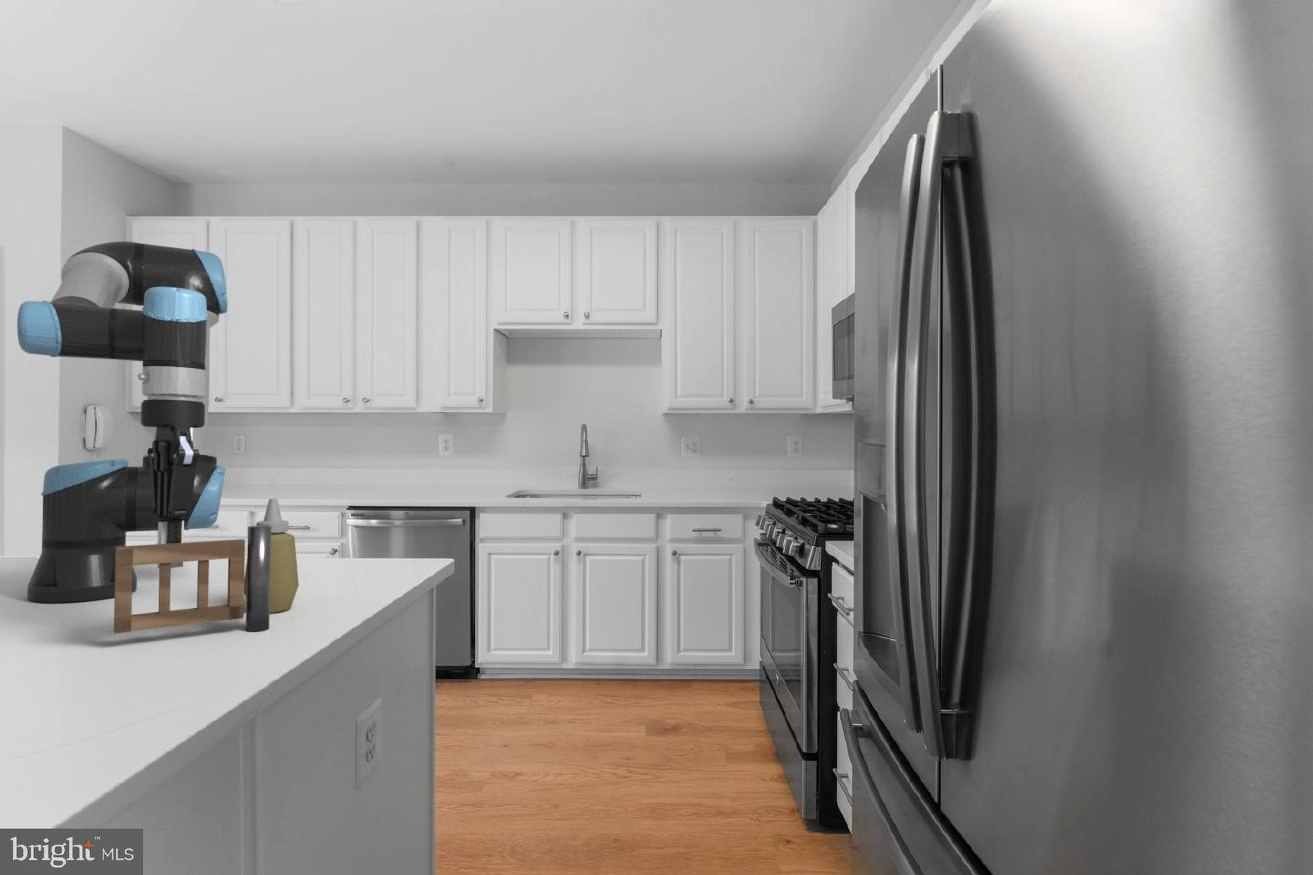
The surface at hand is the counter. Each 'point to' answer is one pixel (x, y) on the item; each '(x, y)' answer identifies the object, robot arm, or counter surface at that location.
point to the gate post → (258, 578)
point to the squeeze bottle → (279, 561)
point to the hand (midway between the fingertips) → (170, 567)
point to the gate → (165, 557)
